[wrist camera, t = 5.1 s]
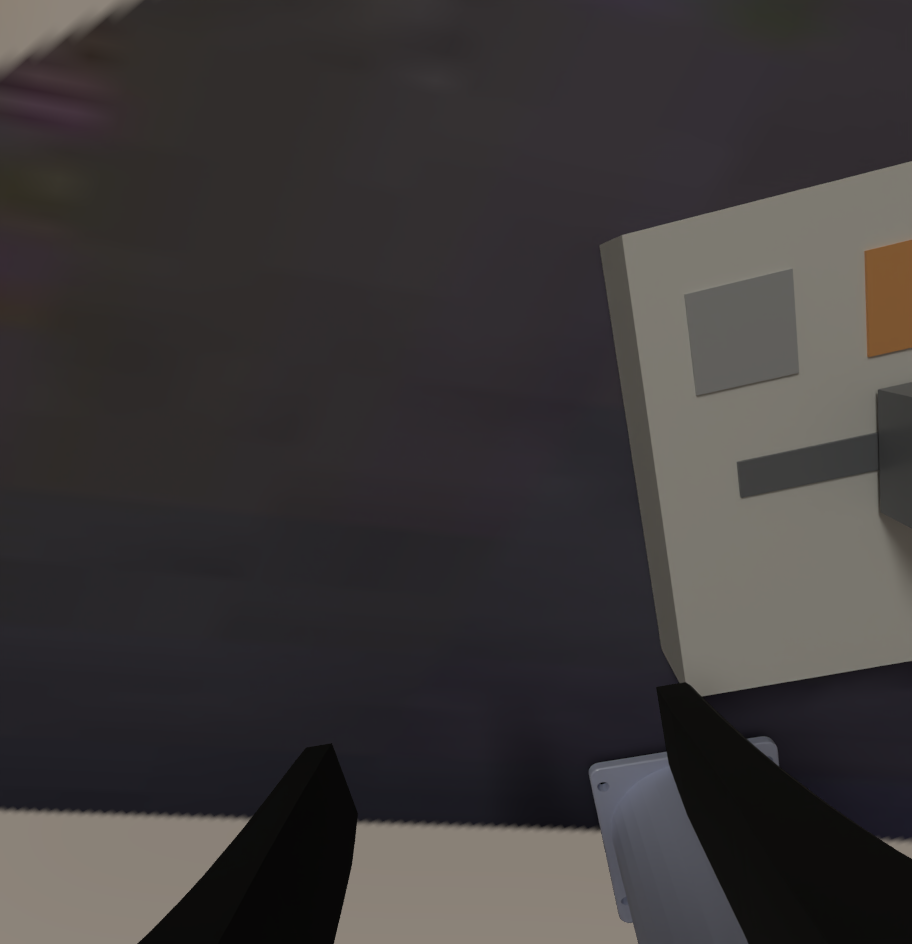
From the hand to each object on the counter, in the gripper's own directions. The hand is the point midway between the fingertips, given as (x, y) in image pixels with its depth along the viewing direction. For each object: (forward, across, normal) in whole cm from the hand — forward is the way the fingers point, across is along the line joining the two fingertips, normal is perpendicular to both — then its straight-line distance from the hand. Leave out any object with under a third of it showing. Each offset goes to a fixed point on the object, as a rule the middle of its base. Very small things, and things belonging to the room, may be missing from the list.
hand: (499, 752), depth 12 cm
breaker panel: (+10, -13, -2) cm, 17 cm away
